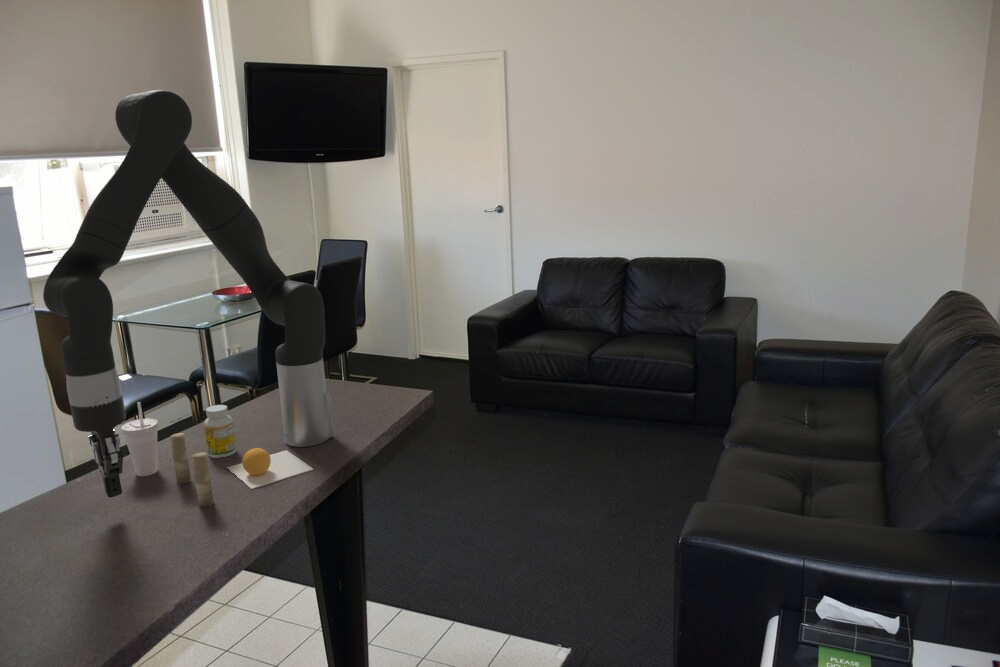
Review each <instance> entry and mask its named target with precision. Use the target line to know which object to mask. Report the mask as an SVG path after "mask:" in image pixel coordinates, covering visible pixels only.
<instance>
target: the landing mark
mask: <svg viewBox="0 0 1000 667" xmlns="http://www.w3.org/2000/svg"><path fill="white" fill-rule="evenodd" d="M269 455H270V458H271V463H270V466H269V468H268V470H267V471H266V472H264V473H263V474H260V475H251V474H249V473H248V472H246V470H245V469H244V467H243V462H240V463H238V464H234V465H231V466H227V467H226V469H227V468H228V469H229V470H230V471H229V470H228V469H227V470H228V471H229V472H230V473H232V474H233V473H234V474H235V475H236V476H237V477H236V476H235V475H234V474H233V475H234V476H235V477H236V478H238V480H239V481H241V480H242V481H243V482H244V483H243V482H242V481H241V482H242V483H243V484H245V485H246V486H247V487H248V488H249V489H250V490H254V489H258V488H260V487H263V486H264V487H265V486H267V485H270V484H273V483H276V482H279V481H282V480H286V479H289V478H291V477H296V476H298V475H302V474H305V473H309V472H311V471H314V468H313V467H311V466H310V465H308V464H307V463H306V462H304V461H303V460H301V459H299V457H297V456H295V455H294V454H292V453H291V452H290V451H288V450H282V451H280V452H279V451H278V452H276V453H272V454H269Z"/></svg>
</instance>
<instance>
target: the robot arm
mask: <svg viewBox="0 0 1000 667" xmlns="http://www.w3.org/2000/svg"><path fill="white" fill-rule="evenodd" d="M114 115H115V118H114V119H115V123H116V126H117V129H118V131H119V133H120V135H121V136H122V138H123V139H124V140H125V142H126V143H127V144H128V145H129V149H128V151H127V153H126V155H125V157H124V159H123V161H122V162H121V164H120V165H119V166H118V168H117V170H116V171H115V172H114V174H113V175H112V176H111V177H110V178H109V180H108V181H107V183H105V185H104V186H103V187H102V188H101V190H100V192H99V193H98V194H97V195H96V196H95V198H94V199H93V201H92V202H91V204H90V206H89V208H88V210H87V211H86V213H85V215H84V218H83V220H82V223H80V224H81V225H80V226H79V229H78V231H77V233H76V236H75V239H74V241H73V242H72V244H71V245H70V247H69V248H68V249H67V250H66V251H65V252H64V254H63V255H62V256H61V258H60V259H59V260H58V262H57V263H56V264H55V265H54V267H53V268H52V270H51V272H50V273H49V276H48V277H47V279H46V281H45V284H44V288H43V293H42V294H43V295H42V296H43V297H42V298H43V301H44V305H45V307H46V308H47V309H48V310H49V311H50V313H53V314H54V315H56V316H57V317H58V316H59V317H63V318H67V321H68V335H67V336H66V337H64V338H63V340H62V341H61V347H60V349H61V356H62V361H63V366H64V372H65V377H66V391H67V396H68V402H69V406H70V412H71V417H72V422H73V426H74V428H75V430H77V431H79V432H83V433H85V432H86V433H90V434H88V435H87V439H88V440H87V441H88V445H90V448H91V452H92V456H93V460H94V461H95V465H96V467H97V468H98V469H99V470H98V472H99V473H100V475H101V477H102V482H103V486H104V487H103V488H104V493H105V494H106V496H107V497H108V498H113V497H117V496H121V494H122V493H123V488H122V485H121V480H120V475H121V474H123V465H124V452H123V451H122V450H121V449H120V445H121V440H120V434H119V433H116V431H115V428H116V427H117V426H119V425H121V424H123V423H124V422H125V421H126V419H127V415H126V410H125V404H124V398H123V392H122V391H123V390H122V387H121V381H120V376H119V374H118V372H117V368H116V362H115V356H114V352H113V351H114V350H113V346H112V343H111V342H112V340H111V339H112V331H113V319H114V302H113V298H112V294H111V292H110V290H109V287H108V286H107V284H106V283H105V282H104V281H103V280H102V279H100V278H101V276H102V274H103V273H104V271H106V270H107V269H109V268H112V267H115V266H118V264H119V262H120V261H121V259H122V258H123V256H124V254H125V251H126V249H127V247H128V245H129V242H130V240H131V237H132V235H133V232H134V231H135V228H136V226H137V224H138V221H139V219H140V217H141V215H142V213H143V211H144V209H145V207H146V205H147V204H148V201H149V199H150V198H151V196H152V194H153V192H154V191H155V189H156V187H157V186H158V184H159V182H160V180H161V179H162V180H163V182H164V183H165V184H166V185H167V187H168V188H169V189H170V190H171V192H172V193H173V194H174V196H175V197H176V198H177V200H178V201H179V202H180V204H181V205H182V206H183V207H184V209H185V210H186V212H188V213H189V215H190V216H191V217H192V218H193V220H194V221H195V223H196V224H197V225H198V227H199V228H200V229H201V230H202V232H203V233H204V234H205V235H206V237H207V238H208V240H210V242H211V243H212V244H213V246H215V248H216V249H217V250H218V251H219V253H220V254H221V255H222V256H223V257H224V259H225V260H226V261H227V262H228V264H229V265H230V266H231V267H232V269H234V271H235V272H236V273H237V274H238V275H239V276H240V278H241V279H242V281H243V282H244V283H245V285H246V287H247V288H248V289H249V291H250V292H251V294H252V296H253V298H254V299H255V301H256V302H257V304H258V305H259V307H260V308H261V310H262V311H263V314H265V315H266V317H267V318H268V319H269V320H270V321H272V322H273V323H275V324H276V325H279V326H283V327H284V343H282V344H280V345H278V346H277V347H275V348H276V349H275V353H274V354H275V363H276V364H275V365H276V370H277V371H276V372H277V381H278V392H279V401H280V410H281V411H280V412H281V420H282V428H283V439H284V444H286V445H288V446H292V447H297V448H298V447H299V448H303V447H304V448H305V447H306V448H307V447H312V446H313V447H314V446H317V445H319V444H323V443H325V442H326V441H327V440H329V439H331V438H333V437H335V435H334V433H335V432H334V423H333V422H334V421H333V412H332V411H333V410H332V399H331V394H330V393H329V392H328V391H327V387H326V377H325V375H326V374H325V366H324V353H323V352H324V347H325V344H326V318H325V316H326V315H325V304H324V300H323V295H322V293H321V291H320V290H319V289H318V288H317V287H316V286H314V285H313V284H310V283H306V282H301V281H296V280H292V279H290V278H289V277H288V276H287V275H286V274H285V273H284V272H283V271H282V270H281V269H280V267H279V266H278V265H277V263H276V262H275V261H274V259H273V258H272V256H271V253H269V250H268V246H267V243H266V242H267V241H266V237H265V233H264V230H263V228H262V225H261V223H260V220H259V218H258V217H257V215H256V214H255V213H254V212H253V209H251V207H250V206H249V205H248V203H247V202H246V201H245V199H244V198H243V197H242V195H241V194H240V193H239V192H238V191H237V190H236V189H235V188H234V187H233V186H231V184H230V183H228V182H227V181H225V180H224V178H221V176H219V175H218V174H216V173H215V172H213V170H211V169H209V167H207V166H206V165H205V164H203V163H202V162H201V161H200V160H199V159H198V158H197V157H196V156H195V155H194V154H193V153H192V151H191V150H190V149H189V147H188V146H187V145H186V143H185V142H186V140H187V139H188V137H189V135H190V133H191V131H192V126H193V117H192V112H191V109H190V107H189V105H188V104H187V102H186V101H185V99H183V98H182V96H180V95H178V94H177V93H176V92H173V91H170V90H166V89H165V90H163V89H156V90H155V89H154V90H148V91H144V92H143V91H142V92H138V93H133V94H130V95H127V96H125V97H123V98H121V100H119V102H118V104H117V106H116V108H115V114H114Z"/></svg>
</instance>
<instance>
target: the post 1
mask: <svg viewBox="0 0 1000 667" xmlns="http://www.w3.org/2000/svg"><path fill="white" fill-rule="evenodd" d="M169 437H170V442H171V443H170V445H171V449H172V457H173V463H174V471H175V477H176V484H178V485H184V484H188V483H190V482H192V478H191V471H190V470H191V469H190V464H189V456H188V451H187V449H188V448H187V442H186V434H185V433H183V432H179V433H178V432H177V433H174V434H172V435H171V434H170V436H169Z"/></svg>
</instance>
